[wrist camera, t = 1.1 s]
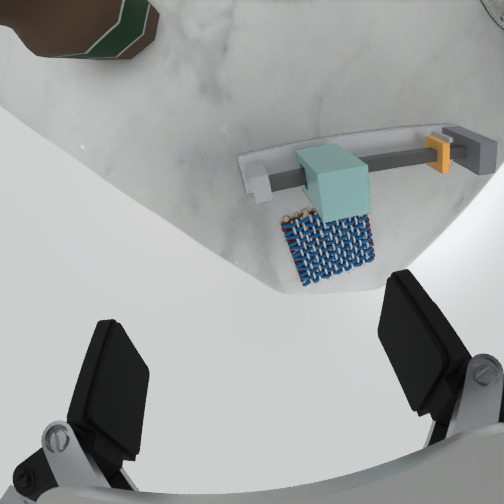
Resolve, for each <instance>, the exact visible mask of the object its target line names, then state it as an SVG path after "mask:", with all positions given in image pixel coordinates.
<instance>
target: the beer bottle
mask: <svg viewBox="0 0 504 504" xmlns="http://www.w3.org/2000/svg"><path fill="white" fill-rule="evenodd" d="M158 17H159V13H158V12H157V10H156V9H155V8H154V7H153V6H152V5H151V4H150V3H149V2H148V1H147V0H0V25H4V26H7V27H10V28H12V29H13V30H14V31H15V33H16V34H17V35H18V37H19V38H20V39H21V41H22V42H23V43H24V45H25V46H26V47H27V48H28V49H29V50H30V51H31V52H33V53H34V54H35V55H36V56H41V57H48V58H76V59H92V60H108V59H131V58H133V57H134V56H135V55H136V54H137V53H138V52H140V51H141V50H142V49H143V48H144V47H146V46H147V45H148V44H149V43H151V42H152V41H153V40H154V37H155V32H156V27H157V22H158Z"/></svg>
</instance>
